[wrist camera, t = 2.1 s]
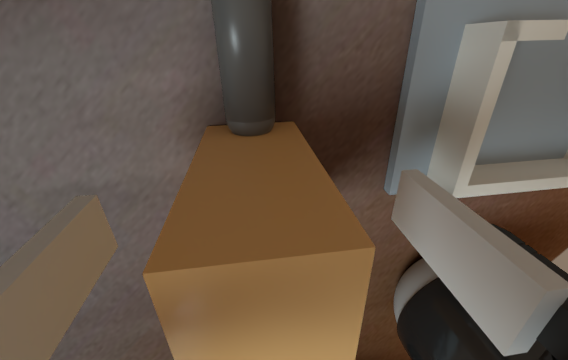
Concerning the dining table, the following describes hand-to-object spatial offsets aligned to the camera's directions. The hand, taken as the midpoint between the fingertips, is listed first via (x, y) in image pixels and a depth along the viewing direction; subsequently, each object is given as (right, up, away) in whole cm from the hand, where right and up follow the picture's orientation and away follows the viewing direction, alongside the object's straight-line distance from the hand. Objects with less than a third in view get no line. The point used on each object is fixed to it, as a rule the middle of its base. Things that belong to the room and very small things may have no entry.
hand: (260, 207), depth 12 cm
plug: (-1, +7, +2) cm, 7 cm away
